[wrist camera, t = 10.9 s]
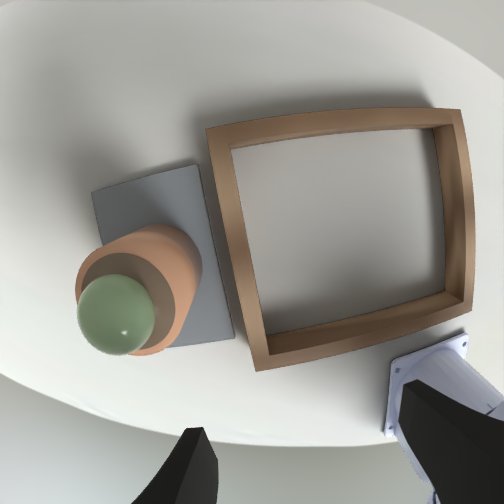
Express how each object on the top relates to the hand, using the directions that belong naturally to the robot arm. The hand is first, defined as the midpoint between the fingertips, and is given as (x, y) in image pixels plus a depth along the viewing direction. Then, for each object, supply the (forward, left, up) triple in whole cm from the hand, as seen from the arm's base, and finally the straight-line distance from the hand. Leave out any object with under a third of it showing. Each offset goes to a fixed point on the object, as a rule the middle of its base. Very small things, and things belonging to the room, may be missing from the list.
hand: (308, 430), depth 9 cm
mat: (+4, +6, -10) cm, 13 cm away
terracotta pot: (+5, +6, -10) cm, 13 cm away
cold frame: (+4, -6, -10) cm, 13 cm away
